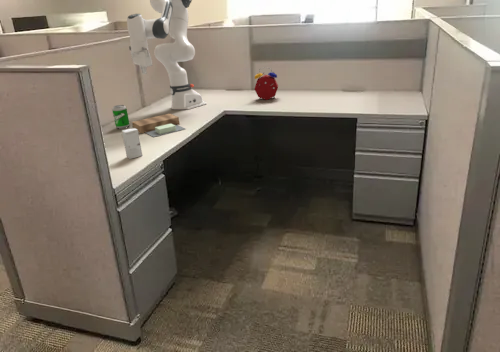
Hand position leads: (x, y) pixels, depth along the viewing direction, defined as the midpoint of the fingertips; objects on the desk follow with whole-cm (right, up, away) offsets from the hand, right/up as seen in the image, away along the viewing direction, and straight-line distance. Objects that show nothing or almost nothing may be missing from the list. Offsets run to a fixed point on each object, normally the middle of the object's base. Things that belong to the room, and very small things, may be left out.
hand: (144, 73), depth 225 cm
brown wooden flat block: (+6, -28, +2) cm, 29 cm away
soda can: (-13, -28, +6) cm, 32 cm away
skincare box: (+6, -47, -40) cm, 62 cm away
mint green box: (+13, -31, -9) cm, 34 cm away
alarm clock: (+68, -6, +41) cm, 79 cm away
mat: (+13, -32, -7) cm, 35 cm away
